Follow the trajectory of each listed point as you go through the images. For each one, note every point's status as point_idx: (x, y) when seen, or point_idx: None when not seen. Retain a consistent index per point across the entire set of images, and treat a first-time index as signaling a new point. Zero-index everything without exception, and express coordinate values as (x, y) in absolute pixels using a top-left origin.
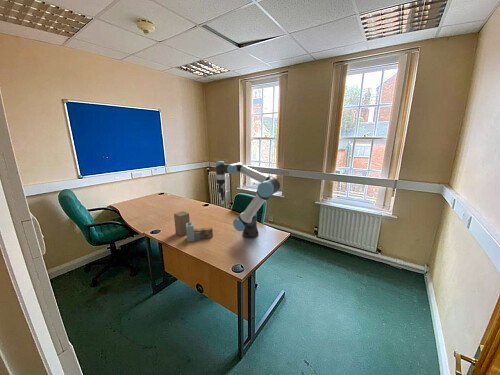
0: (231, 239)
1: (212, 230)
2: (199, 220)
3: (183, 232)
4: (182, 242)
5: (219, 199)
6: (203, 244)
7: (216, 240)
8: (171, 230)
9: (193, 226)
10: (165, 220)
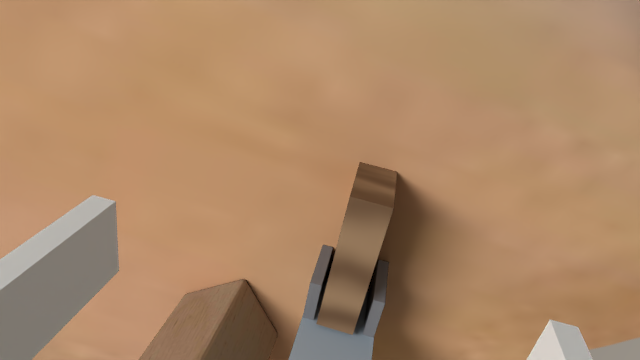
0: (547, 38)
1: (393, 201)
2: (34, 158)
3: (264, 340)
4: None
5: (112, 270)
6: (474, 267)
7: (474, 168)
8: None
9: (313, 350)
10: None
